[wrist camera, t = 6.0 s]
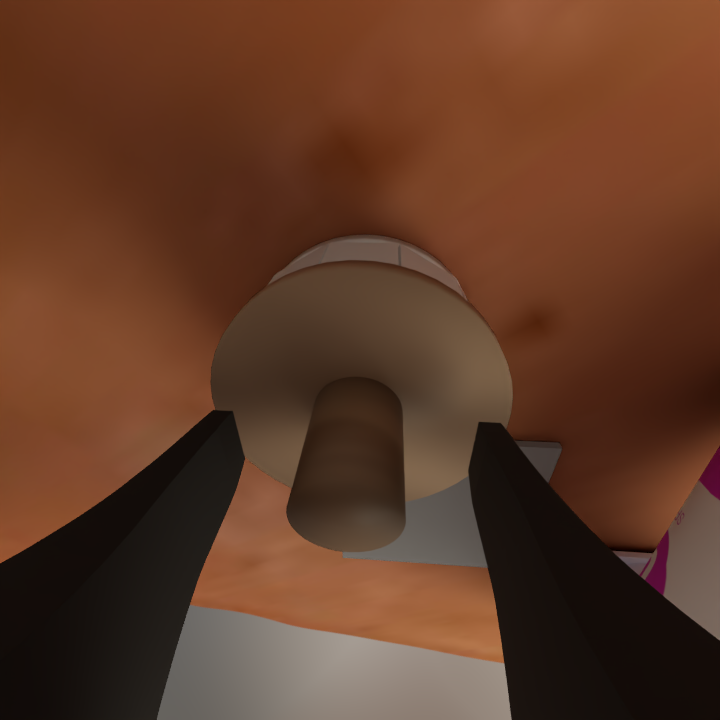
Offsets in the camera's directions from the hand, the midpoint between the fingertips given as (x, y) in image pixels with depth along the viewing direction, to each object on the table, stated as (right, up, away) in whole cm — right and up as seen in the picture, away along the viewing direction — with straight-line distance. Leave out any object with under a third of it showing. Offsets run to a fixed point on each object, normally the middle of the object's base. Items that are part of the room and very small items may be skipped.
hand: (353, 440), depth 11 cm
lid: (0, +1, +2) cm, 2 cm away
